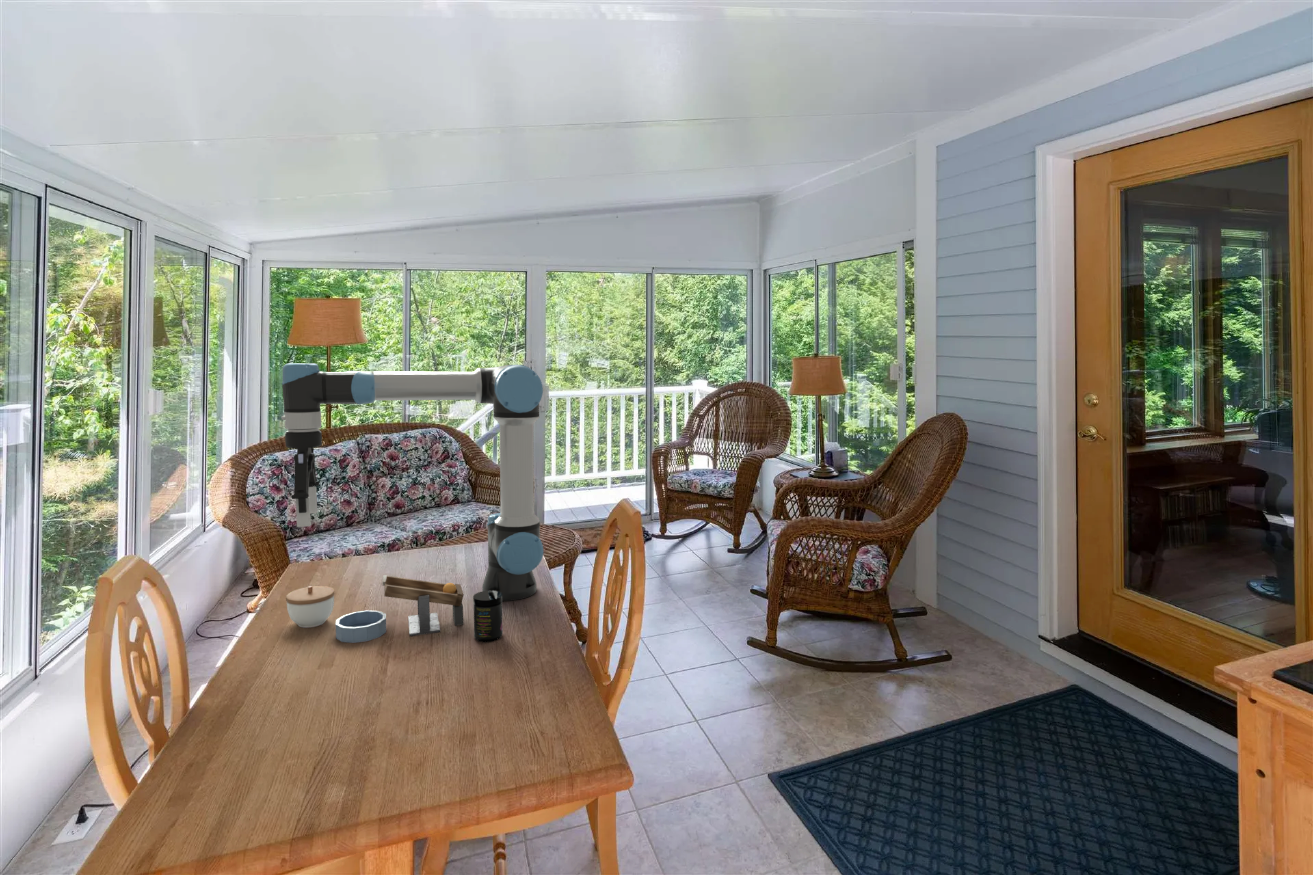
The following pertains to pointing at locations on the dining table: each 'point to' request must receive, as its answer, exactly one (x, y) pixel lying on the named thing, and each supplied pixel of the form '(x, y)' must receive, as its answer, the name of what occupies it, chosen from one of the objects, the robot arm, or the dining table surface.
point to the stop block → (458, 614)
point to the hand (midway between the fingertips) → (307, 519)
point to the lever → (420, 590)
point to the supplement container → (488, 616)
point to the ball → (449, 588)
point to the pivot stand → (423, 619)
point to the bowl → (360, 626)
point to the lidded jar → (310, 605)
